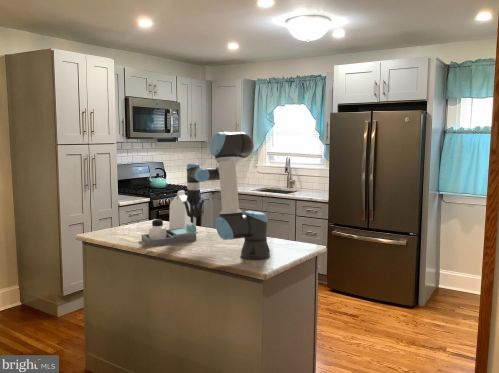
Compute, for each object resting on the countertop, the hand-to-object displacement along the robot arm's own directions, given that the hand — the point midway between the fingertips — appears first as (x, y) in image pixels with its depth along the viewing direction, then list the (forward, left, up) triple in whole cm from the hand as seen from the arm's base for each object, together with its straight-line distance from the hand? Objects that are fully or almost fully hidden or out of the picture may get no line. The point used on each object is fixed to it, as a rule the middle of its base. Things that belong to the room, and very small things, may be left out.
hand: (193, 227), depth 274 cm
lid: (0, +7, -2) cm, 7 cm away
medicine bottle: (0, +23, -5) cm, 23 cm away
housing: (0, +16, -6) cm, 17 cm away
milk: (+20, 0, -6) cm, 21 cm away
